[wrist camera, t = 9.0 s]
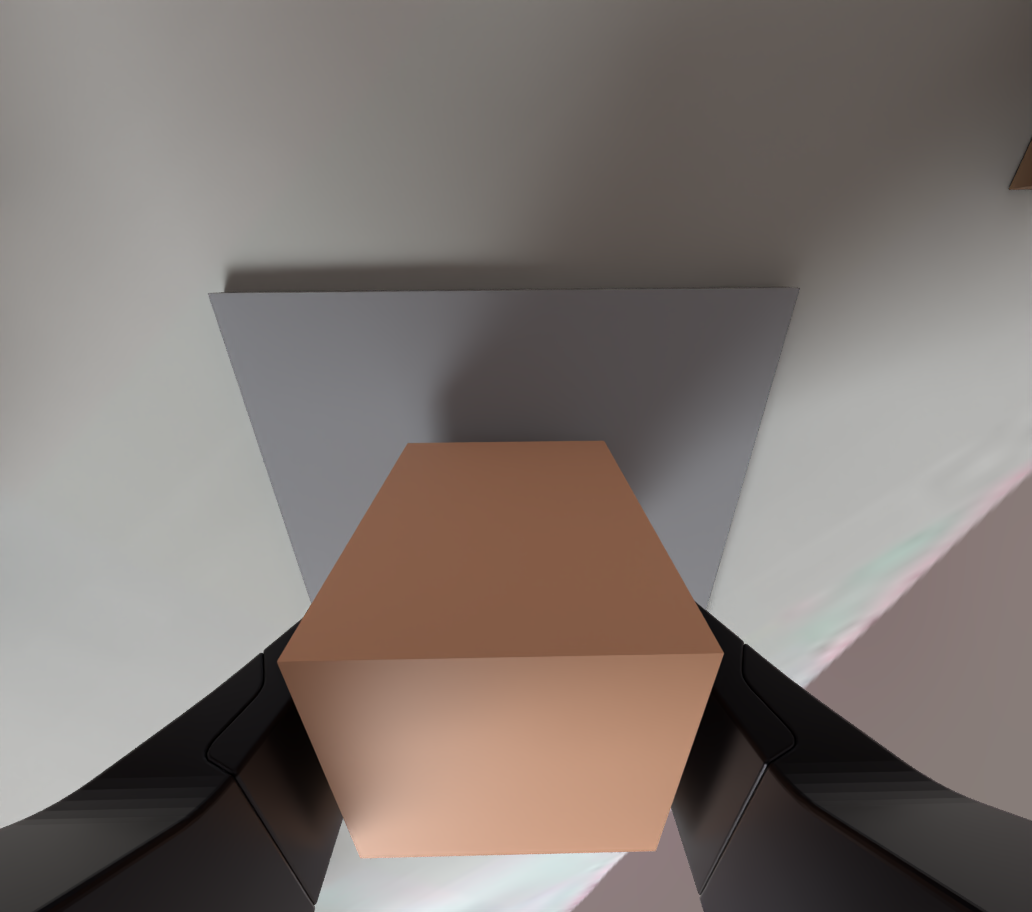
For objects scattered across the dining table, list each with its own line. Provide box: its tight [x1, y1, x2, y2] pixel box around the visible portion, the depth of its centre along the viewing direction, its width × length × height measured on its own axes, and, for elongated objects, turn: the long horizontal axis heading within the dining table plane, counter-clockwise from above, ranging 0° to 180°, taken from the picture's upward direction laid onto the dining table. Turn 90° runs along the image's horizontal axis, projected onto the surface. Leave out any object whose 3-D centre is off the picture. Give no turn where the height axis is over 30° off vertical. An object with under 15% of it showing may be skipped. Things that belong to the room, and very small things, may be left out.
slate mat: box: [208, 287, 800, 610], centre depth 12 cm, size 14×12×1 cm
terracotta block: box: [277, 441, 724, 858], centre depth 8 cm, size 5×5×6 cm
